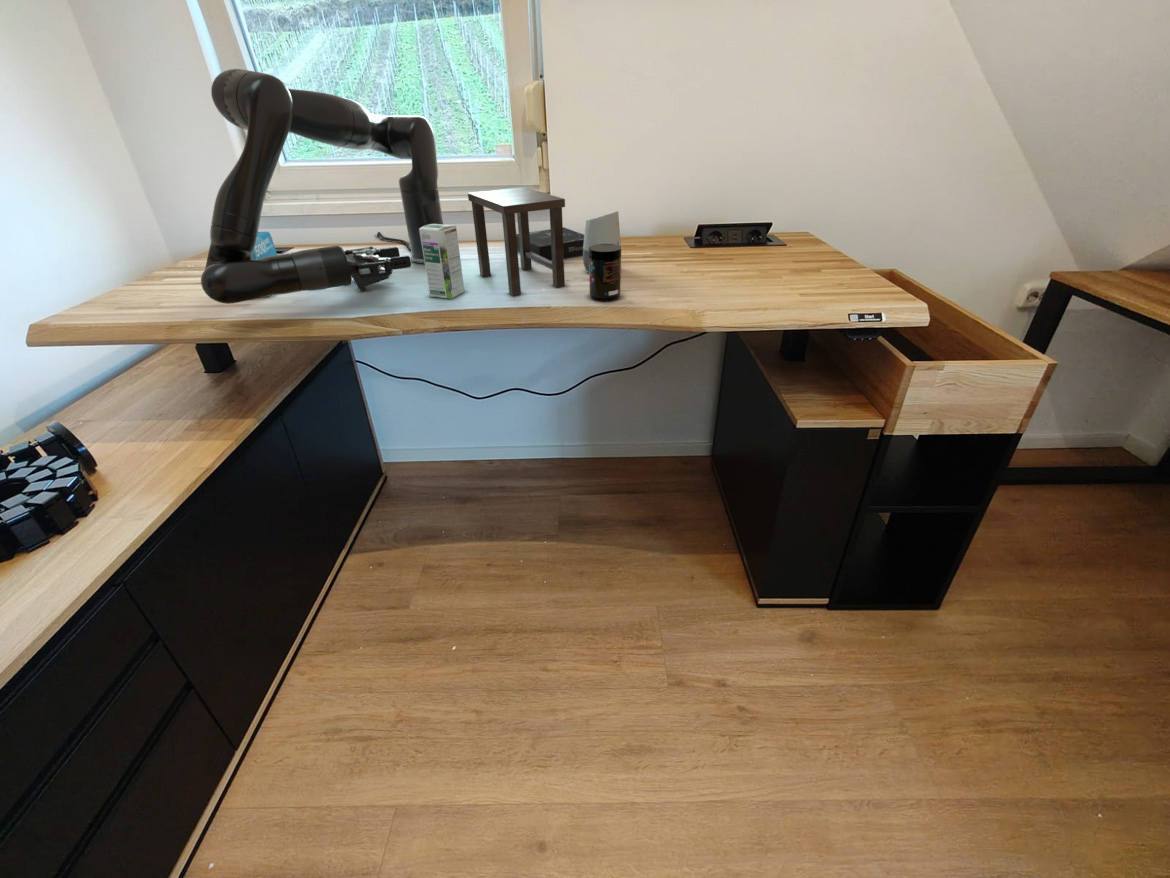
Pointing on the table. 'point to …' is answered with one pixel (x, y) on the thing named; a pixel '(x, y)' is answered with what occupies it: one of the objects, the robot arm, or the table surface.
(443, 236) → the syrup box
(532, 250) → the black flat box
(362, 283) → the clip-on lamp
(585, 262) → the smart speaker
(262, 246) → the data package
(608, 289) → the supplement container
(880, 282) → the table surface
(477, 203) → the side table
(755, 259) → the table surface
